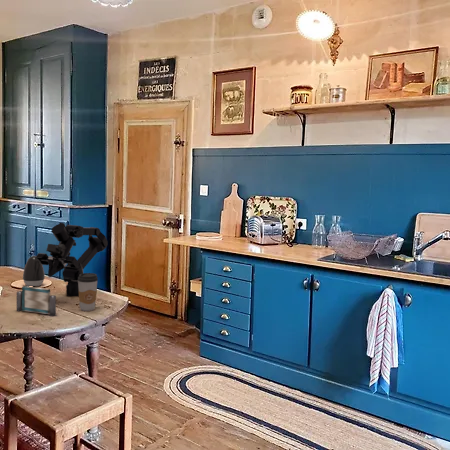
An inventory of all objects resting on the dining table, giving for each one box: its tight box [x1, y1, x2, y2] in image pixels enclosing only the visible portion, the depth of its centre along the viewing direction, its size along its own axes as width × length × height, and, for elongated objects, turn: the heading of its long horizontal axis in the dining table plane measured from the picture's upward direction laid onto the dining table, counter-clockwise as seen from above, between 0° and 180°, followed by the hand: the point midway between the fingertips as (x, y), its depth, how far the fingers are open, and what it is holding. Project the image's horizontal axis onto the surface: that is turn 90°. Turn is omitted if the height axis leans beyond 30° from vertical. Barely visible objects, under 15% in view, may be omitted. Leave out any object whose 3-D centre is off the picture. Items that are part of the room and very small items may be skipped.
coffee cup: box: [78, 272, 99, 312], centre depth 202 cm, size 8×8×15 cm
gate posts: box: [16, 290, 57, 317], centre depth 194 cm, size 18×2×8 cm, turn 76°
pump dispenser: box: [22, 255, 46, 287], centre depth 236 cm, size 10×10×15 cm
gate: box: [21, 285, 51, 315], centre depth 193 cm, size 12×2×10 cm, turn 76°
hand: (49, 276), depth 204 cm, fingers closed
